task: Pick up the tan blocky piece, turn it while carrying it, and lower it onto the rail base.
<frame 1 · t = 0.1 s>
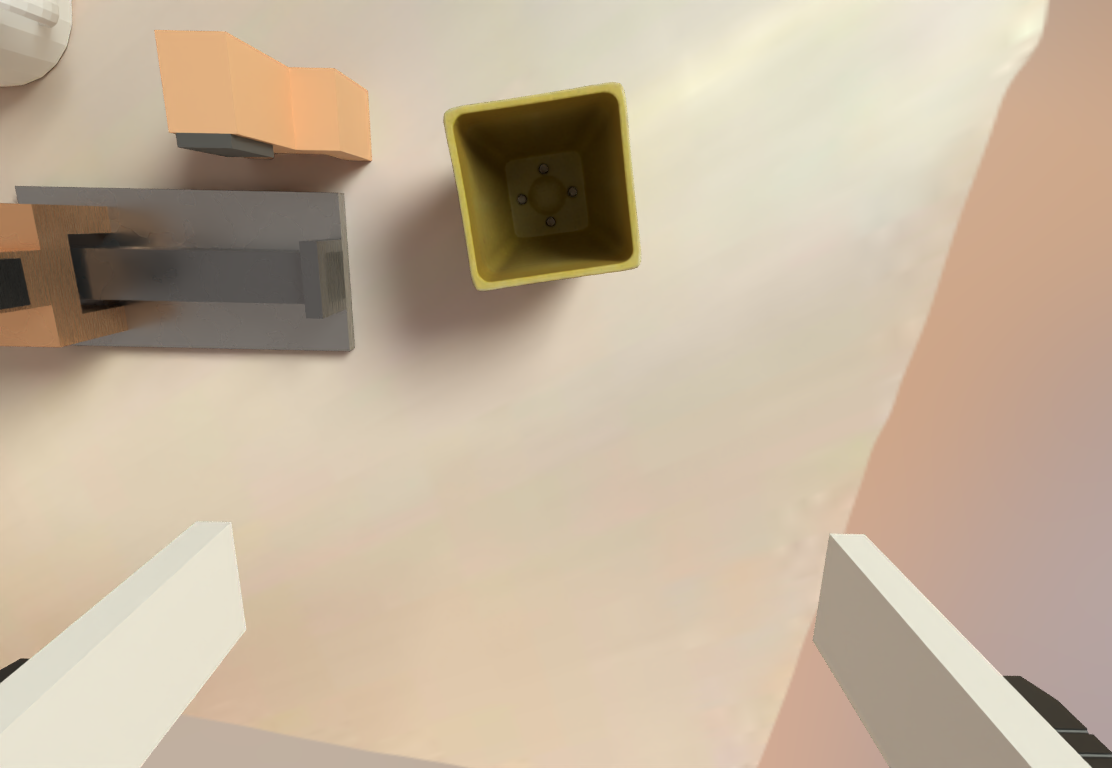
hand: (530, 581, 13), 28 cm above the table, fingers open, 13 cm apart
mug: (18, 5, 35), on the table
flower pot: (548, 198, 38), on the table
tan blocky piece: (306, 125, 37), on the table
rail base: (197, 270, 39), on the table
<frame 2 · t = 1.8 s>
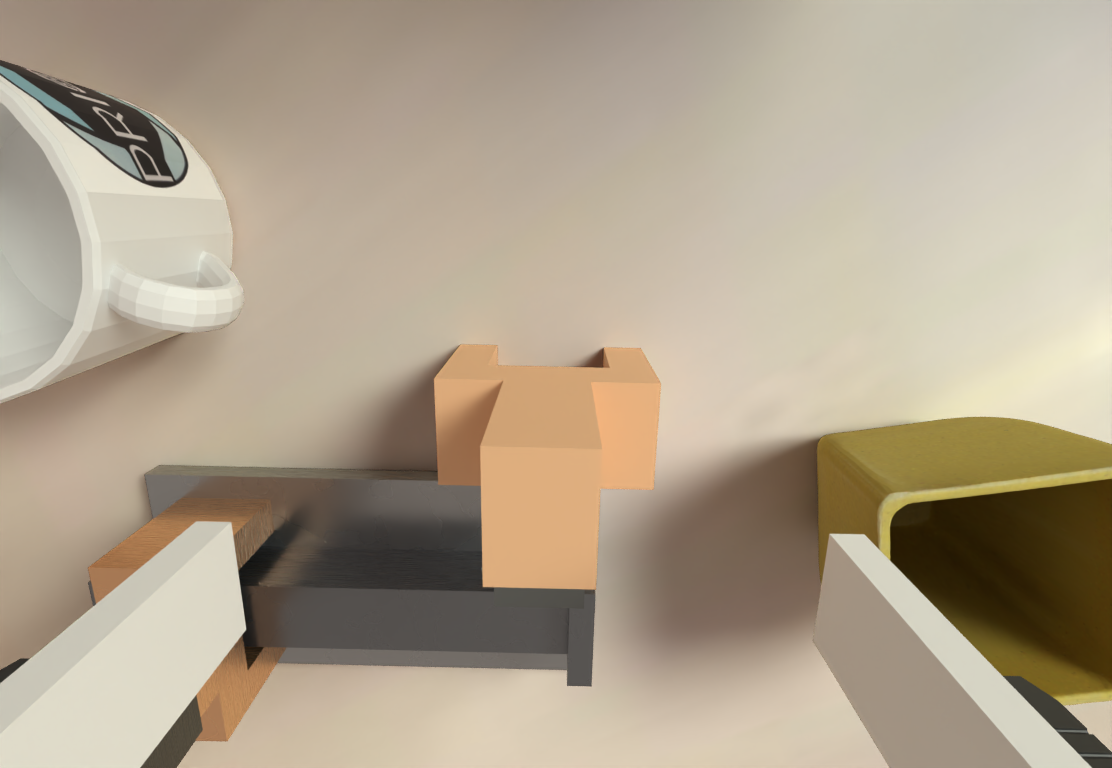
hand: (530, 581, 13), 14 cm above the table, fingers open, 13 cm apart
mug: (154, 236, 25), on the table
flower pot: (872, 478, 27), on the table
tan blocky piece: (549, 390, 26), on the table
rail base: (381, 564, 29), on the table
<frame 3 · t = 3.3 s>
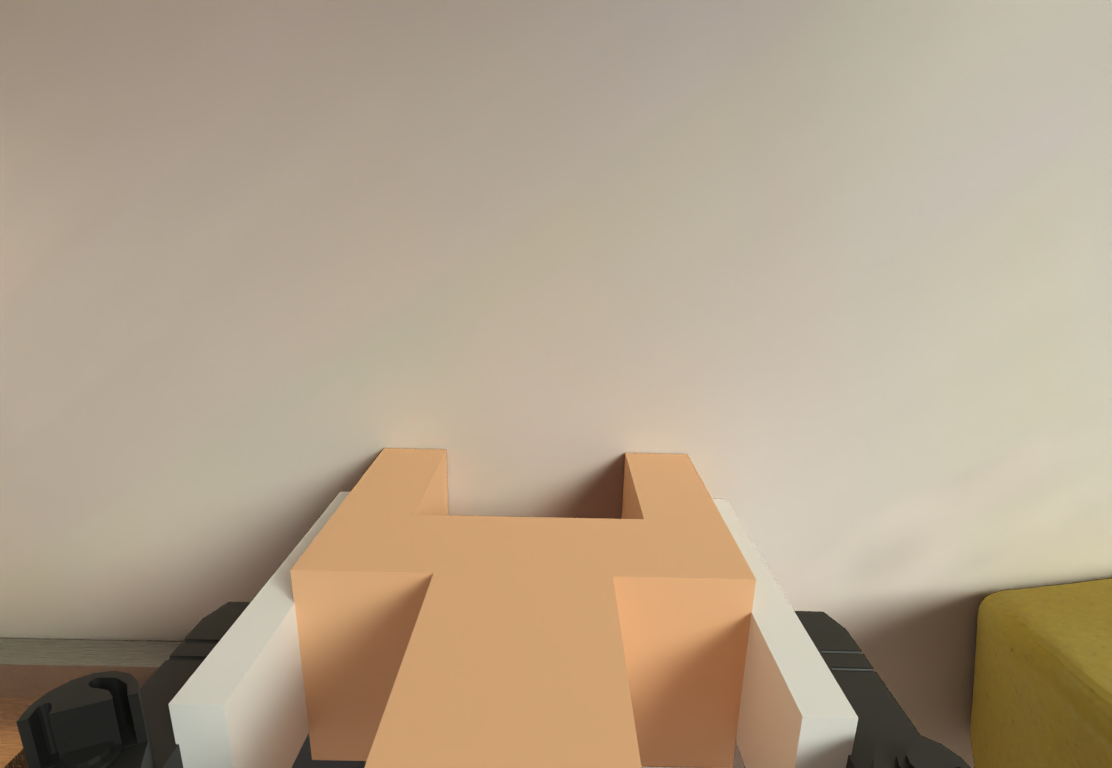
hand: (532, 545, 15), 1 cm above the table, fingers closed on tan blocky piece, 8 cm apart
flower pot: (1055, 652, 17), on the table
tan blocky piece: (535, 521, 16), on the table, touching gripper
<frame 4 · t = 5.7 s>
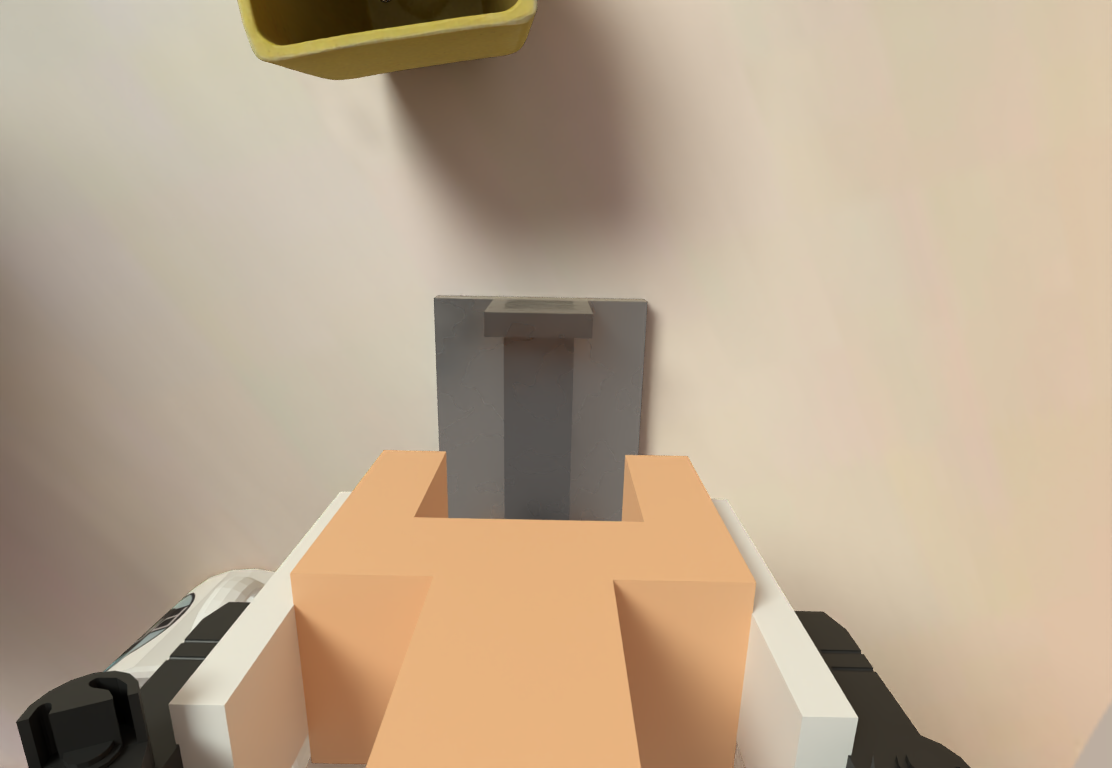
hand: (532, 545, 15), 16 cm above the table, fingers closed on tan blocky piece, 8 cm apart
mug: (270, 618, 34), on the table
tan blocky piece: (534, 523, 16), point 15 cm above the table, touching gripper
rail base: (538, 486, 31), on the table
when the fingers open (3 cm above the table, at t = 7.9 s): tan blocky piece stays where it is, resting on rail base.
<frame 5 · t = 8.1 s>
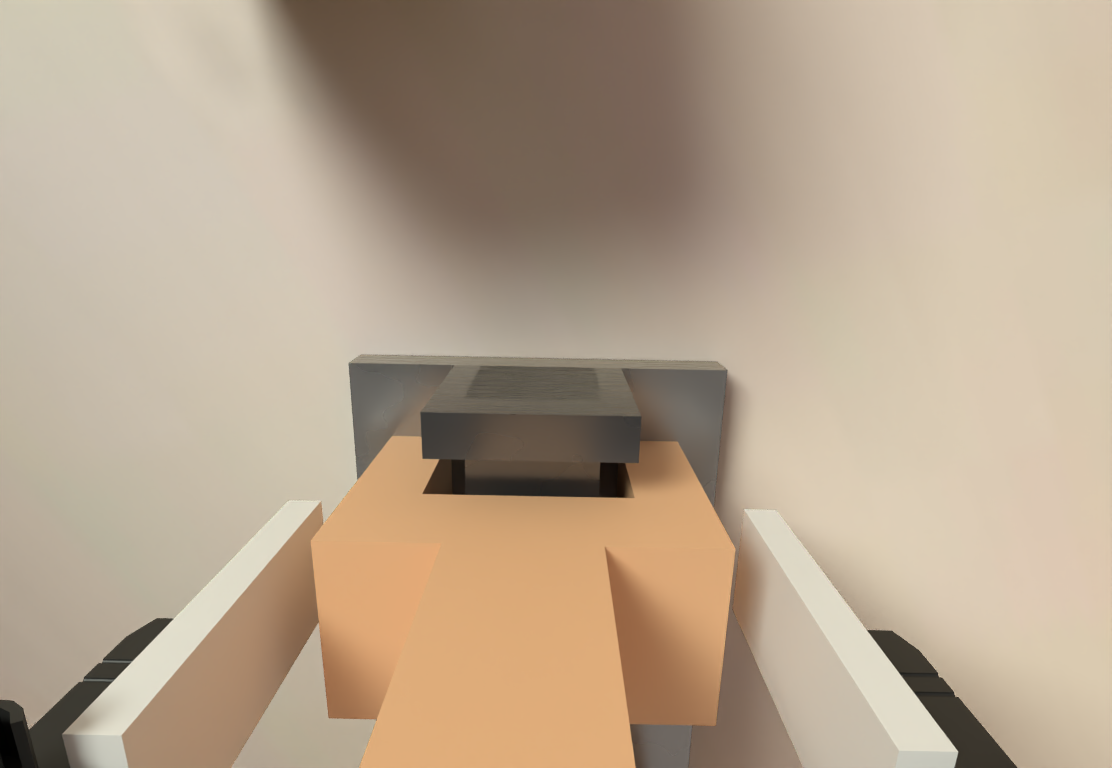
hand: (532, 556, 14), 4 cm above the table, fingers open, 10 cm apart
tan blocky piece: (534, 505, 17), point 1 cm above the table, touching rail base
rail base: (535, 658, 19), on the table
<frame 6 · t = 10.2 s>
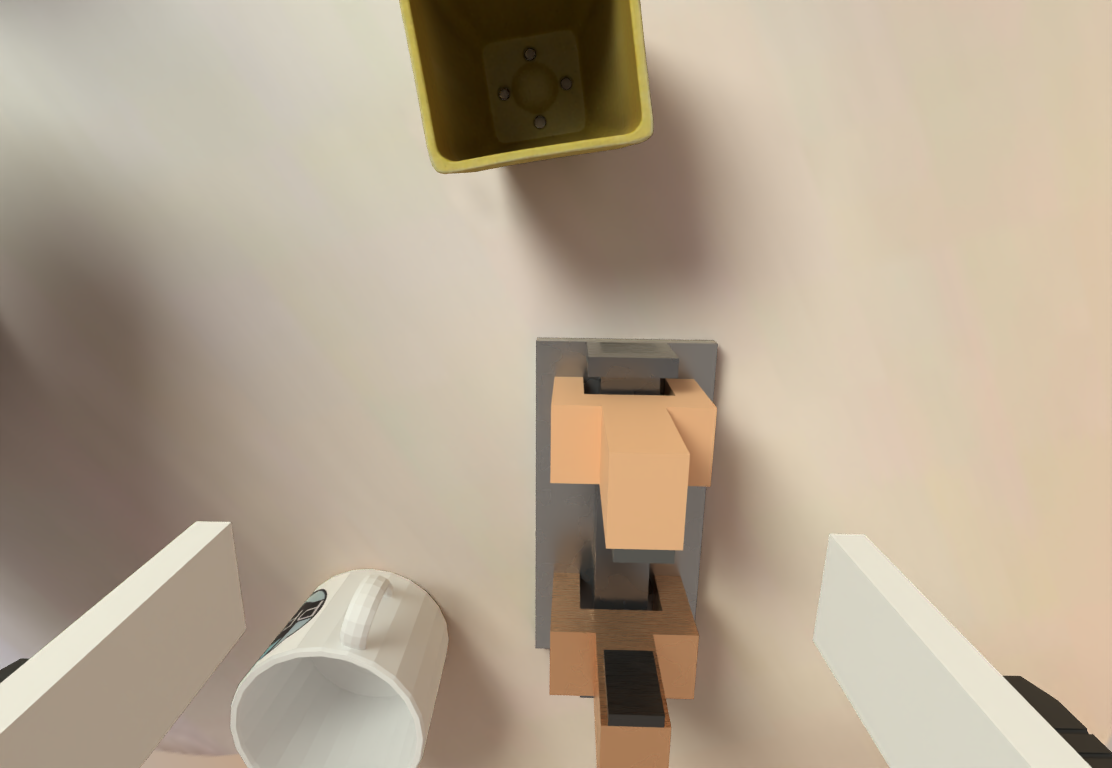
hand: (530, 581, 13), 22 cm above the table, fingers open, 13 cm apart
mug: (381, 612, 39), on the table
flower pot: (538, 89, 31), on the table
tan blocky piece: (622, 411, 34), point 1 cm above the table, touching rail base
rail base: (618, 500, 36), on the table
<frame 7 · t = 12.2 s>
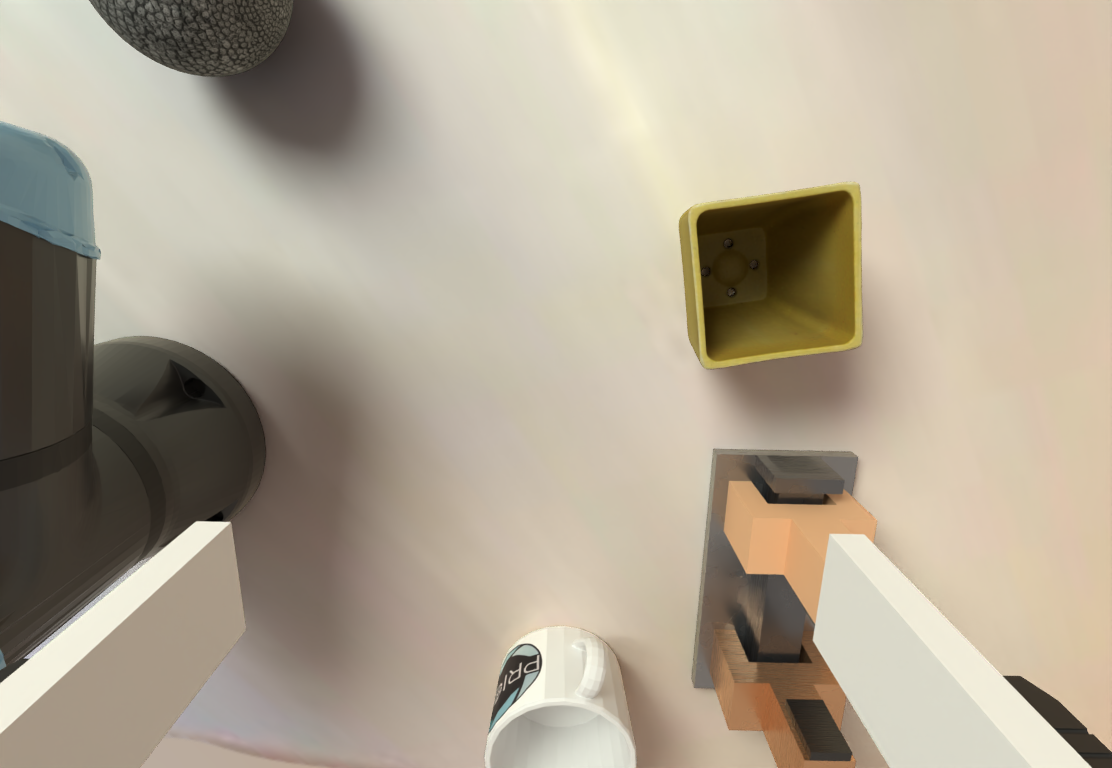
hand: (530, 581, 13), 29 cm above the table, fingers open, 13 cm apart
mug: (565, 659, 48), on the table
flower pot: (729, 266, 40), on the table
decorative ball: (240, 3, 36), on the table
tan blocky piece: (779, 507, 43), point 1 cm above the table, touching rail base
rail base: (766, 571, 46), on the table
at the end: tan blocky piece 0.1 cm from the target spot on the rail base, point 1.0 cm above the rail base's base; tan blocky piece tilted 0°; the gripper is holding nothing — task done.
